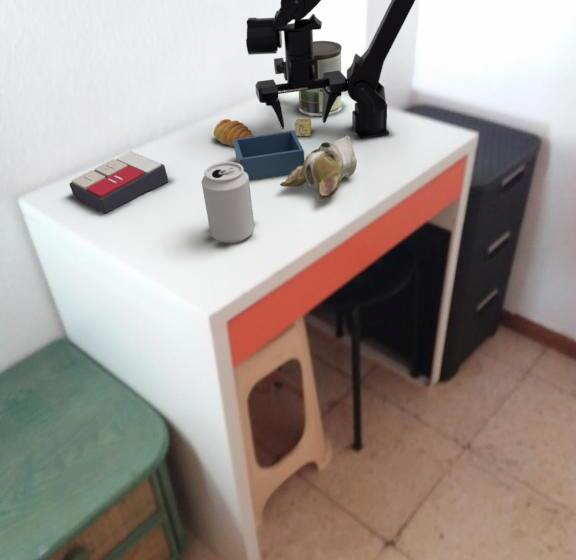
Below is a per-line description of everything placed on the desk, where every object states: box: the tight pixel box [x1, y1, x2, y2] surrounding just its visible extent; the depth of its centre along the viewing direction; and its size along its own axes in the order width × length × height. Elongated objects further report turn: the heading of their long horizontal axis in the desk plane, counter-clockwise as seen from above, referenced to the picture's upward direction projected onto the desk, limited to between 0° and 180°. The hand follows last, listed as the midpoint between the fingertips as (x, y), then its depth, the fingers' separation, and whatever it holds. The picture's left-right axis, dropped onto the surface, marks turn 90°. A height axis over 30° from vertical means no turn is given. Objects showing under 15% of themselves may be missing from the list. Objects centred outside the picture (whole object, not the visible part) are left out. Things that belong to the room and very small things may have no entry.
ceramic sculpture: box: [279, 135, 358, 200], centre depth 111 cm, size 11×9×15 cm
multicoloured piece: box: [69, 151, 169, 214], centre depth 116 cm, size 11×4×15 cm
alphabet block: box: [294, 117, 312, 137], centre depth 132 cm, size 3×3×3 cm
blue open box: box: [233, 130, 305, 181], centre depth 120 cm, size 12×10×5 cm
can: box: [201, 161, 255, 244], centre depth 98 cm, size 8×8×12 cm
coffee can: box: [298, 40, 343, 117], centre depth 139 cm, size 10×10×14 cm
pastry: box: [213, 118, 254, 147], centre depth 131 cm, size 9×7×4 cm
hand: (303, 125), depth 131 cm, fingers open, 9 cm apart
